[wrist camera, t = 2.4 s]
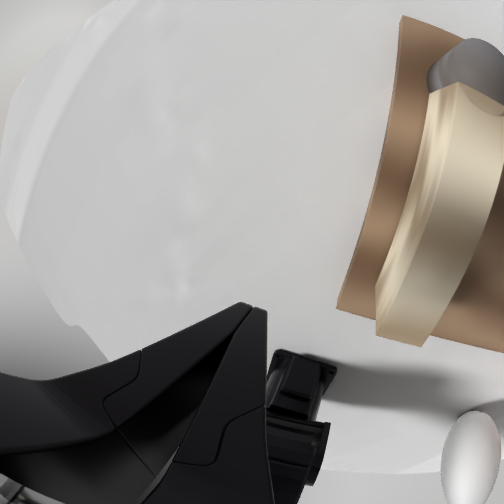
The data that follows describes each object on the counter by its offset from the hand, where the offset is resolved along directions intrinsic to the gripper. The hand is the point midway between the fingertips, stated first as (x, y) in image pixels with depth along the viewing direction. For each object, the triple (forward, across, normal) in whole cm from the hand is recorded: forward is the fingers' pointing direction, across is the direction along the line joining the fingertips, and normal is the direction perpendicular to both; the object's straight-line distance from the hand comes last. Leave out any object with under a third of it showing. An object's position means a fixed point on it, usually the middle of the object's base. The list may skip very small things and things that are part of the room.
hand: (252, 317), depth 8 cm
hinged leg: (+11, -7, -4) cm, 13 cm away
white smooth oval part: (+13, -27, +19) cm, 35 cm away
